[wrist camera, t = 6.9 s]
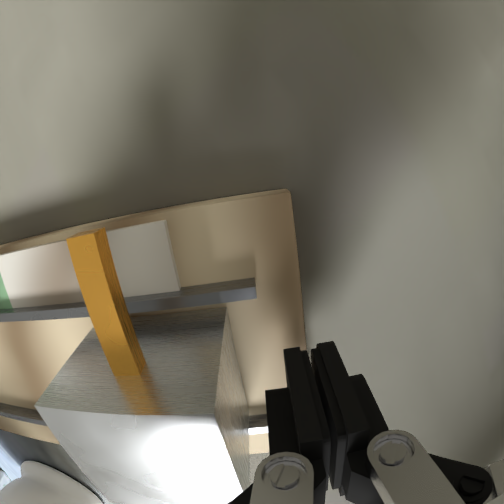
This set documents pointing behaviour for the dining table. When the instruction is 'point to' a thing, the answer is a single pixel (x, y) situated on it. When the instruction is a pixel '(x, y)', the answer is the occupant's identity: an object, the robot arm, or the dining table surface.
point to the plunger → (149, 396)
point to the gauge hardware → (136, 304)
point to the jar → (45, 487)
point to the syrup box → (3, 480)
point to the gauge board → (160, 291)
